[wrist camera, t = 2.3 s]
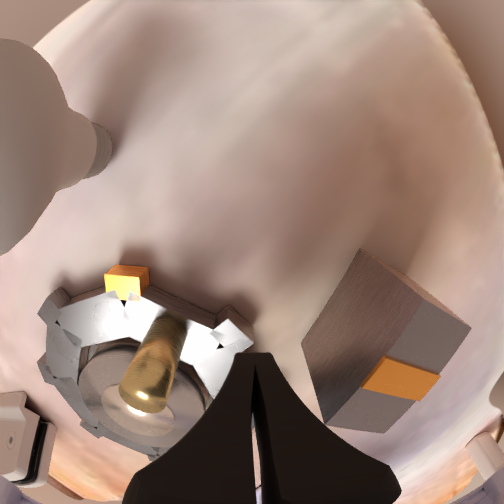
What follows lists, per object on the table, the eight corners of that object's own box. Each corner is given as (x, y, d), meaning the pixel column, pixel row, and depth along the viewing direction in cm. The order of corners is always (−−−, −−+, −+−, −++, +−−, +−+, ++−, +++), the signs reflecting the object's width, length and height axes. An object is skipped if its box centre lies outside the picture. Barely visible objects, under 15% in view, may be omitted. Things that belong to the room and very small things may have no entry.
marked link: (405, 275, 14) (474, 329, 8) (349, 359, 15) (385, 435, 10) (358, 247, 13) (426, 300, 8) (300, 342, 15) (324, 427, 9)
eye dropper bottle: (488, 423, 21) (526, 479, 9) (489, 434, 22) (521, 484, 10) (463, 444, 21) (498, 503, 10) (466, 453, 23) (495, 505, 11)
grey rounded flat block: (25, 390, 16) (8, 485, 8) (60, 414, 19) (52, 502, 11) (-25, 395, 18) (-39, 456, 10) (0, 414, 21) (-10, 473, 13)
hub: (227, 366, 15) (224, 401, 12) (186, 432, 17) (180, 461, 14) (105, 311, 14) (82, 337, 11) (89, 389, 16) (75, 415, 13)
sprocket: (321, 341, 15) (352, 420, 9) (215, 467, 18) (211, 523, 13) (63, 222, 12) (-13, 253, 7) (47, 394, 16) (16, 440, 10)
